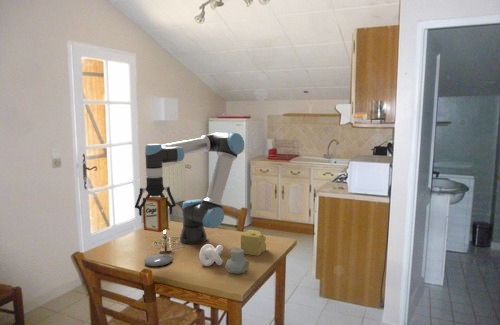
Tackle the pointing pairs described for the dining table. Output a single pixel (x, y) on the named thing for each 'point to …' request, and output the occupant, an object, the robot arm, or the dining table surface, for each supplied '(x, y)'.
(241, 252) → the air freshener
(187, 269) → the dining table surface
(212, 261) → the white knot sculpture
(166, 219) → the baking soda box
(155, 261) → the plate
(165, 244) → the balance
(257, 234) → the cheese
